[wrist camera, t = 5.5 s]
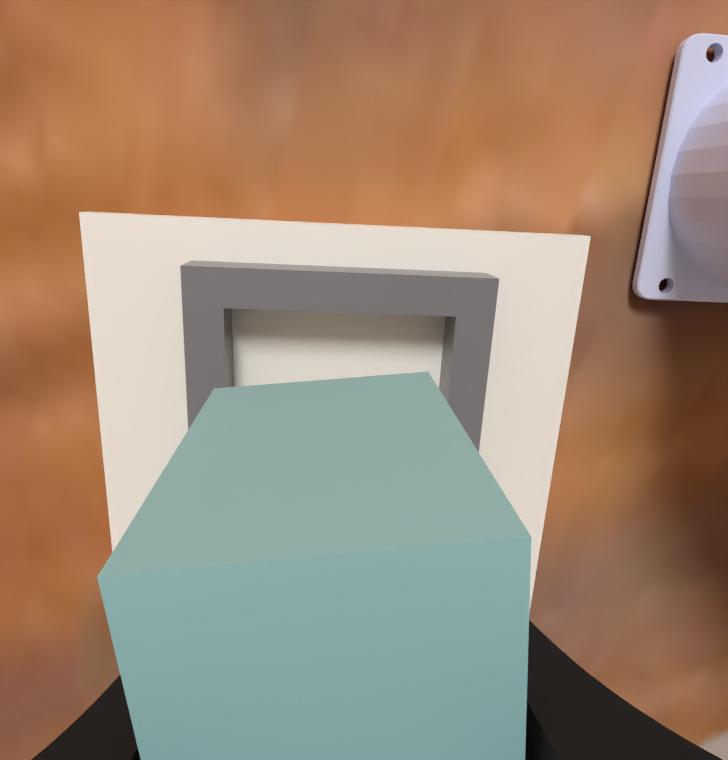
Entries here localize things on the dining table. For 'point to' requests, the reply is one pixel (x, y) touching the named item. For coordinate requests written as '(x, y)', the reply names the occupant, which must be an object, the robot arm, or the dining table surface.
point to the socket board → (328, 331)
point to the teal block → (324, 583)
